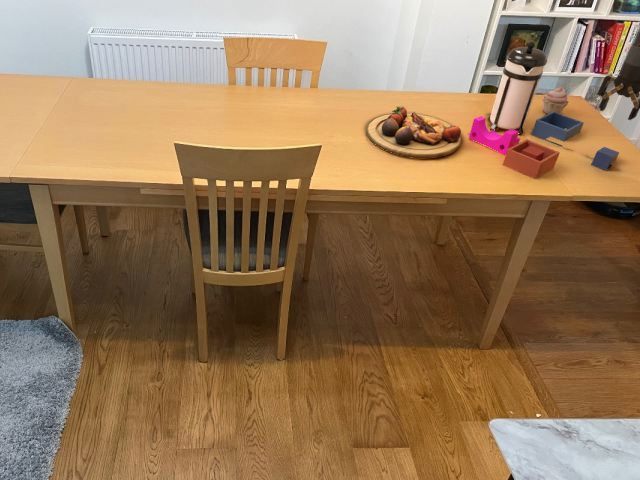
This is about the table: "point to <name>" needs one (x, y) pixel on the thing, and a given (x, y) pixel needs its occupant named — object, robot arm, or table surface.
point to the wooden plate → (414, 135)
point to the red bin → (530, 159)
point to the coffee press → (517, 87)
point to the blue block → (605, 158)
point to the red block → (533, 153)
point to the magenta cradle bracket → (493, 136)
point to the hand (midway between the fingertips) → (616, 114)
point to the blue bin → (556, 127)
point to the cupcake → (555, 101)
